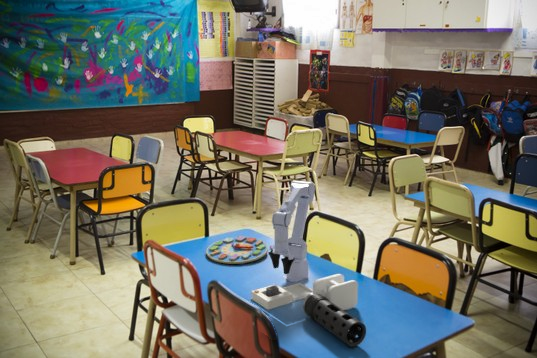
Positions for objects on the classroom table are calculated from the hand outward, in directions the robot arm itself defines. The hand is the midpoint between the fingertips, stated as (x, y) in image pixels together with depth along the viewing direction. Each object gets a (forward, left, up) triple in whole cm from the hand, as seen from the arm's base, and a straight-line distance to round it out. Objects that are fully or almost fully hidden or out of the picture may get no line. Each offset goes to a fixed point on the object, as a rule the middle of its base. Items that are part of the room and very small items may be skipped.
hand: (281, 270), depth 243 cm
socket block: (+9, +6, -9) cm, 14 cm away
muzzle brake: (+5, +39, -10) cm, 41 cm away
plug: (+9, +6, -10) cm, 14 cm away
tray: (-4, +6, -9) cm, 12 cm away
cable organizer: (-9, +24, -10) cm, 27 cm away
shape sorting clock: (-8, -49, -10) cm, 51 cm away
